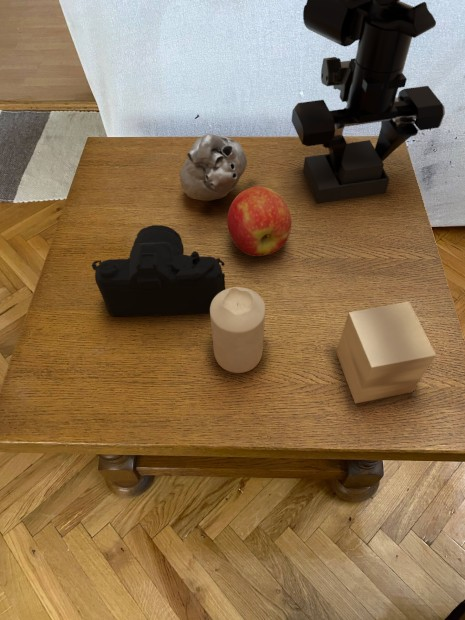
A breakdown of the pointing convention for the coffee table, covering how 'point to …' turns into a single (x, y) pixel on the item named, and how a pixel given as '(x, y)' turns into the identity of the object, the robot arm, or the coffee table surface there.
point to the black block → (360, 163)
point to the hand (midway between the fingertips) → (354, 168)
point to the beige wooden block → (383, 351)
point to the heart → (212, 167)
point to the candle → (237, 328)
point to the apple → (259, 221)
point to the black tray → (328, 186)
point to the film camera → (159, 277)
